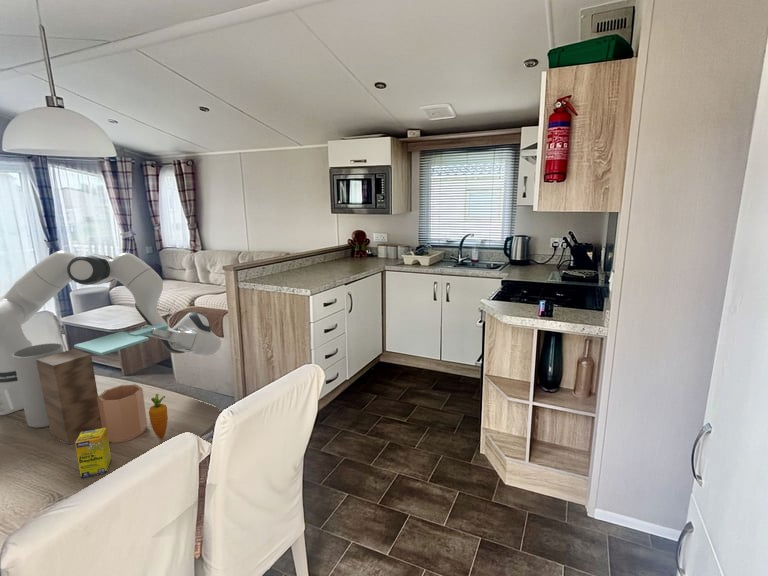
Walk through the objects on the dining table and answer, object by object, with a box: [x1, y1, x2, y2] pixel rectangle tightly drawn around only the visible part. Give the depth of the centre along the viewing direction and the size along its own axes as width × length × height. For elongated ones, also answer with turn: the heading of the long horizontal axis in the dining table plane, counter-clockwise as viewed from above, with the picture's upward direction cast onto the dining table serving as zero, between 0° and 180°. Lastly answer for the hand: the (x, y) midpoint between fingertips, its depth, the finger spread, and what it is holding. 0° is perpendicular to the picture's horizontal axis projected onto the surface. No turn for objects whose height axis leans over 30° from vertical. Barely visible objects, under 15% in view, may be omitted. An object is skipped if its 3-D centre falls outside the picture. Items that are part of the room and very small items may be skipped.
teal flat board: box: [73, 324, 169, 356], centre depth 125 cm, size 24×14×1 cm, turn 154°
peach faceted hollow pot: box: [97, 383, 148, 444], centre depth 125 cm, size 11×11×14 cm
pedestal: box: [36, 348, 102, 446], centre depth 124 cm, size 10×10×26 cm
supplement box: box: [74, 427, 112, 479], centre depth 108 cm, size 6×6×11 cm
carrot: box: [148, 393, 169, 440], centre depth 122 cm, size 5×5×15 cm
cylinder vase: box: [13, 342, 65, 429], centre depth 132 cm, size 12×12×25 cm
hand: (147, 329), depth 130 cm, fingers closed on teal flat board, 4 cm apart
